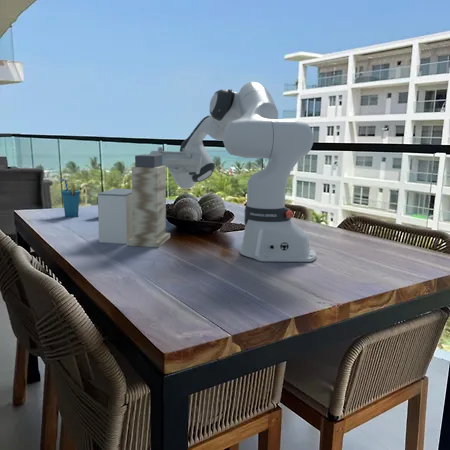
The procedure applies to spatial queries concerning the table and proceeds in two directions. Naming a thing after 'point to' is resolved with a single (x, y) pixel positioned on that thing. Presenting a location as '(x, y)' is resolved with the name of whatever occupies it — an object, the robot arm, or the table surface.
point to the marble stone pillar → (148, 207)
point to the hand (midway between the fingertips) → (172, 149)
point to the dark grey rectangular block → (149, 161)
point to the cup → (70, 200)
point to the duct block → (115, 216)
